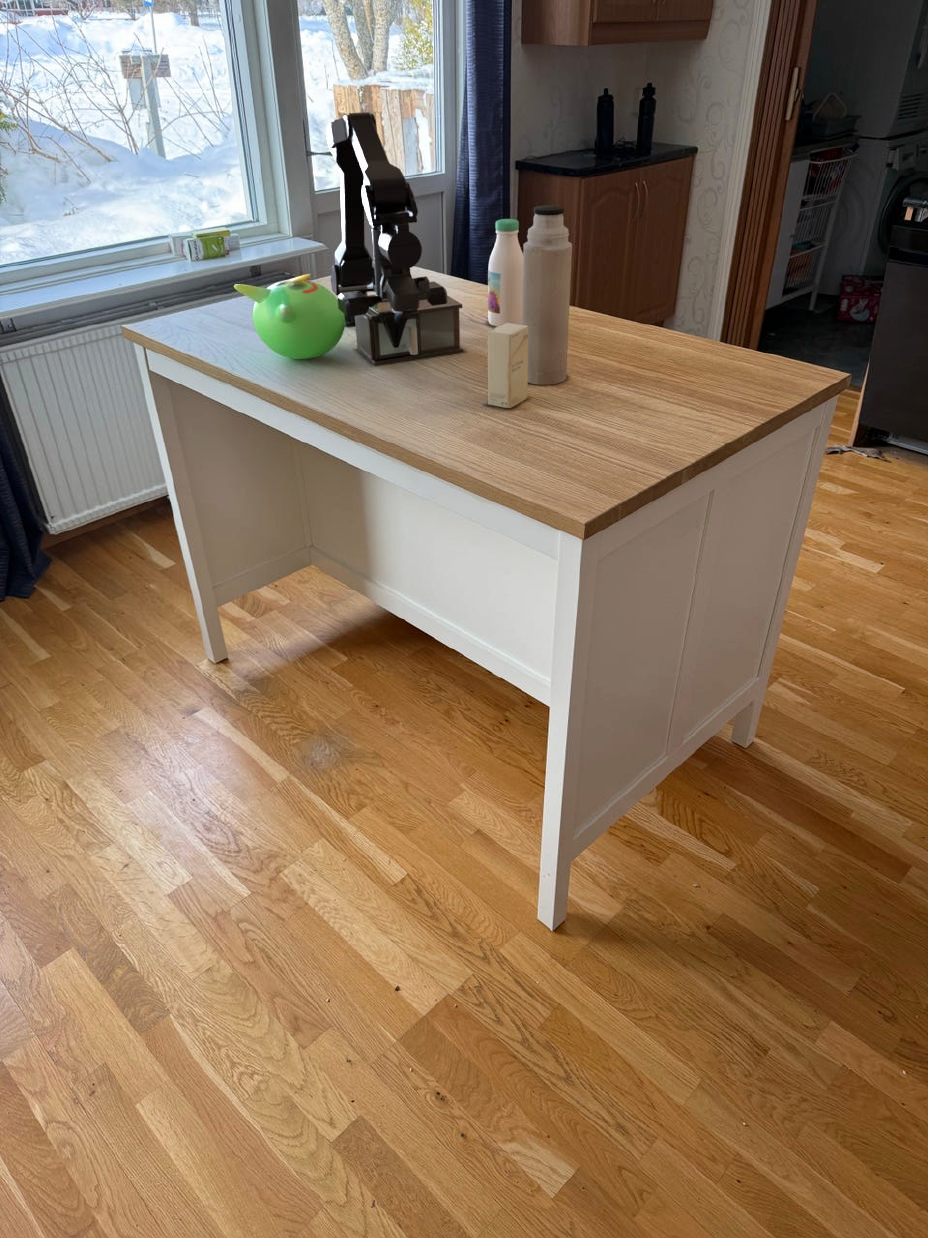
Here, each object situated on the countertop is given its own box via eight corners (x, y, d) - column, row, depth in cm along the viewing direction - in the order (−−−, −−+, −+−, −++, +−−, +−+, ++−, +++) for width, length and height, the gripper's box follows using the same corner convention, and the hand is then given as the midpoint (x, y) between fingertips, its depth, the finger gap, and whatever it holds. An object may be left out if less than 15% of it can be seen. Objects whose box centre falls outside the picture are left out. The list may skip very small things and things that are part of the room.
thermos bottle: (528, 368, 164) (531, 201, 148) (570, 372, 161) (578, 203, 146) (516, 382, 157) (518, 209, 142) (560, 386, 155) (567, 211, 139)
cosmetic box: (510, 409, 146) (510, 334, 140) (486, 405, 148) (486, 331, 142) (528, 397, 151) (529, 324, 144) (505, 393, 153) (505, 321, 146)
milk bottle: (525, 317, 191) (527, 216, 180) (524, 328, 185) (525, 224, 174) (489, 317, 192) (489, 216, 181) (486, 327, 185) (486, 224, 174)
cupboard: (357, 350, 175) (353, 302, 170) (442, 337, 180) (441, 291, 175) (374, 365, 167) (371, 316, 162) (463, 352, 172) (462, 304, 167)
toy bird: (365, 355, 172) (358, 275, 164) (295, 377, 162) (284, 293, 154) (306, 337, 182) (297, 261, 174) (237, 357, 172) (224, 278, 164)
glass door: (375, 358, 167) (372, 320, 163) (420, 351, 170) (418, 313, 166) (385, 366, 163) (382, 327, 159) (431, 359, 166) (429, 321, 162)
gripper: (352, 272, 145) (360, 367, 153) (458, 259, 151) (460, 352, 159) (332, 258, 153) (341, 349, 162) (434, 247, 159) (437, 335, 168)
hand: (395, 347), depth 162 cm, fingers closed
